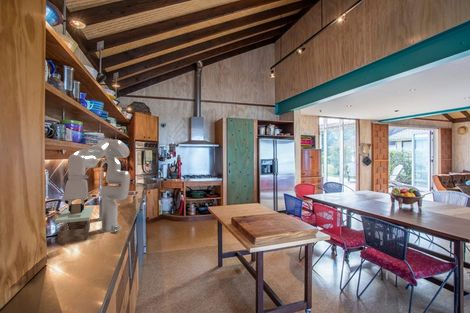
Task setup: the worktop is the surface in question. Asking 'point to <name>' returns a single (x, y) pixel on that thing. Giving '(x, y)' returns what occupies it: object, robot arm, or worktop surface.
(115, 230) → the robot arm
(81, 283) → the worktop surface
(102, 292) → the worktop surface
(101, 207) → the coffee box
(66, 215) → the lid
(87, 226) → the brown open box
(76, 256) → the worktop surface
